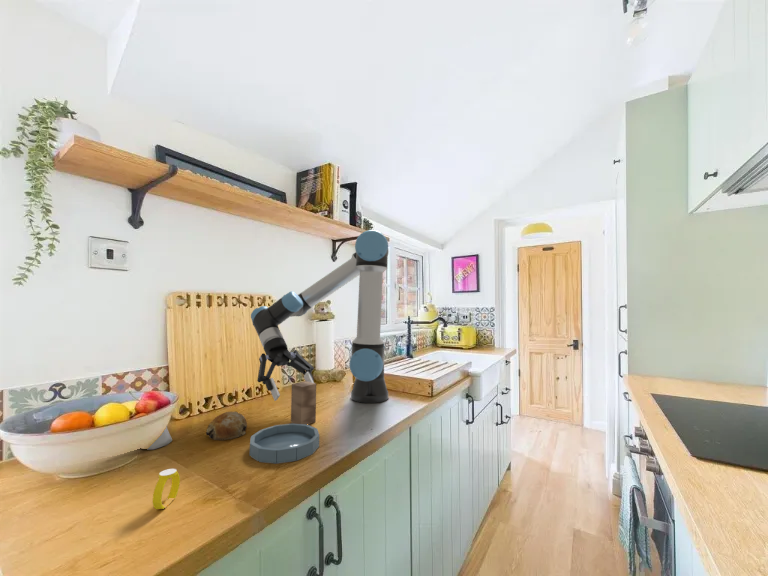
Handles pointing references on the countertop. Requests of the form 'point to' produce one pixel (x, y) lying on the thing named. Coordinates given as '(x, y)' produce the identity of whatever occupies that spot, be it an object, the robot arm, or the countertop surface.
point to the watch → (160, 485)
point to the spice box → (303, 403)
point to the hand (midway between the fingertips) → (296, 393)
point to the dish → (284, 443)
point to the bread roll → (227, 426)
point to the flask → (161, 440)
